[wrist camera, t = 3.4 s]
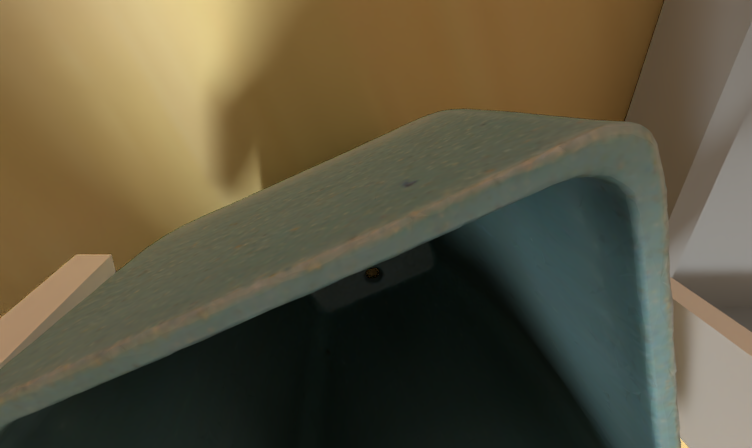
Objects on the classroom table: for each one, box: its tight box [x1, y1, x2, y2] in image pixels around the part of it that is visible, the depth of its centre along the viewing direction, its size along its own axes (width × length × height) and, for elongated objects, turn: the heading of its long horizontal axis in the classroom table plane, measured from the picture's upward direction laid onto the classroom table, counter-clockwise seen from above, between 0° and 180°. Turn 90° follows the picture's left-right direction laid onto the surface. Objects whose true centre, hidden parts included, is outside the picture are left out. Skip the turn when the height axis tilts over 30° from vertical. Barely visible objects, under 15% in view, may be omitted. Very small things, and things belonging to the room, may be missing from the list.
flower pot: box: [0, 109, 681, 448], centre depth 10 cm, size 9×9×9 cm
